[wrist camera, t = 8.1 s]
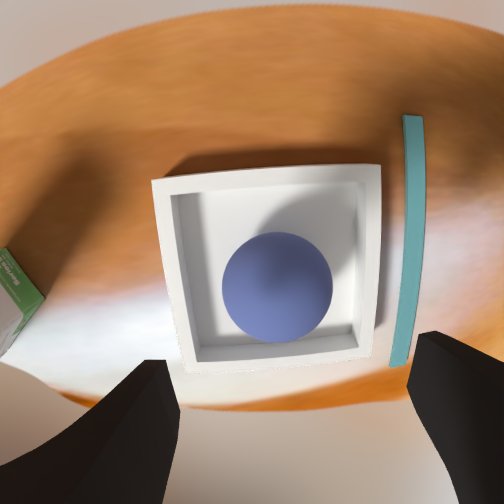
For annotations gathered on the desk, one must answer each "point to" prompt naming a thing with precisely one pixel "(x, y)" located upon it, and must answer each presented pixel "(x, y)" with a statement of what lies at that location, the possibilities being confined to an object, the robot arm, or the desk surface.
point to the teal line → (411, 236)
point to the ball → (277, 287)
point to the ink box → (14, 300)
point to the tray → (256, 223)
